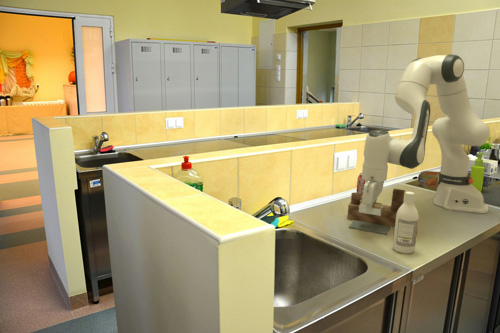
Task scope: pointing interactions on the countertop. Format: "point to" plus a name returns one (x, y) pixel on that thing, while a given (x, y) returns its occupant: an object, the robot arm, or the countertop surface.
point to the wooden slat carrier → (385, 219)
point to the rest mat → (370, 227)
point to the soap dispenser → (478, 172)
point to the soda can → (360, 185)
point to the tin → (428, 179)
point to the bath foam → (406, 225)
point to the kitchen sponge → (376, 208)
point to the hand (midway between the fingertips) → (371, 209)
